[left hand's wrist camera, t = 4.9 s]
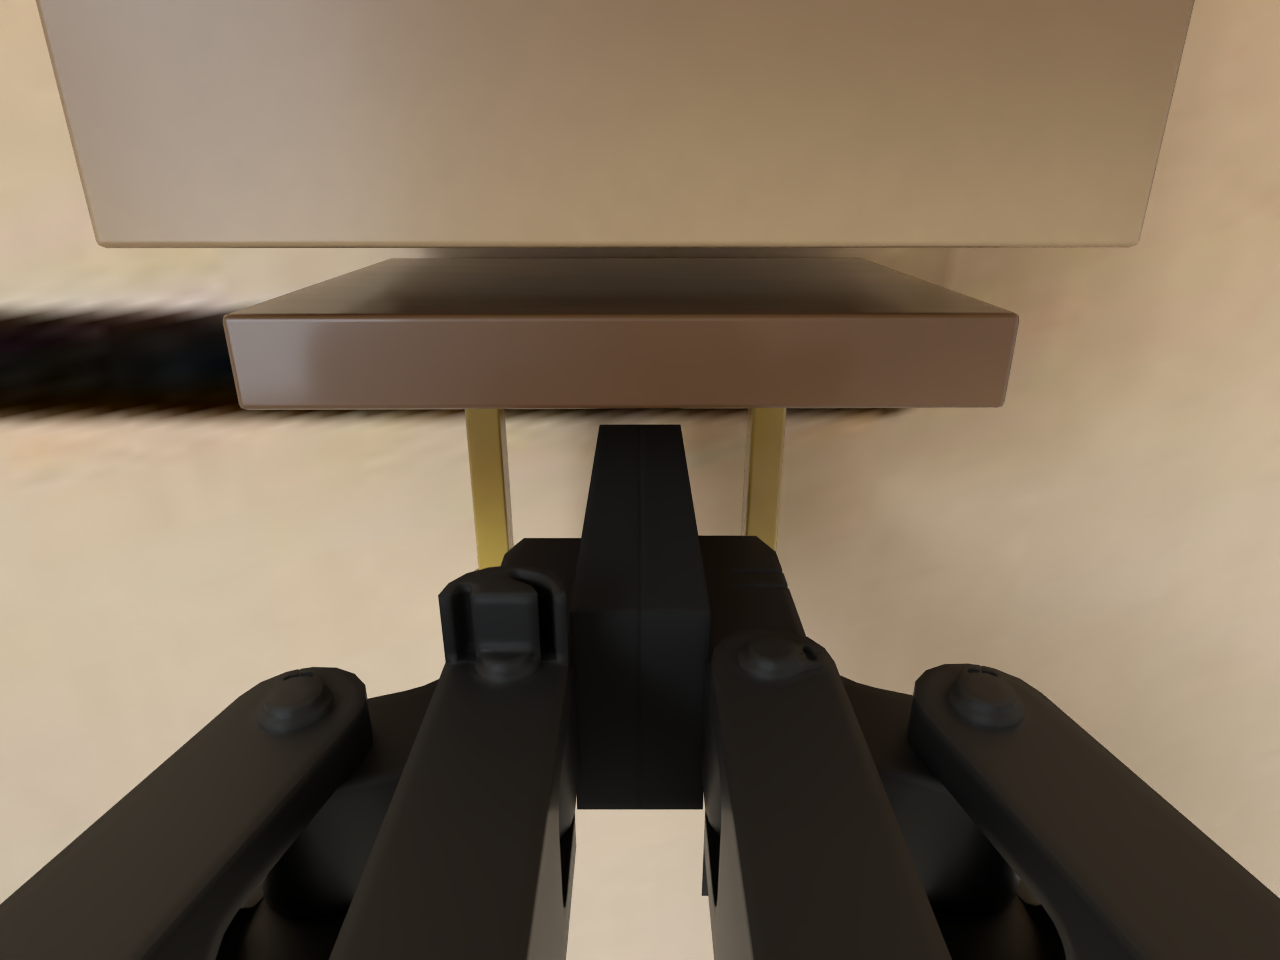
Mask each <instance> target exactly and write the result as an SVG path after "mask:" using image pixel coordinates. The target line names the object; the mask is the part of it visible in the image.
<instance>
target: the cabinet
mask: <svg viewBox="0 0 1280 960" xmlns="http://www.w3.org/2000/svg"><path fill="white" fill-rule="evenodd" d="M36 3H37V7H38V11H39V14H40V18H41V22H42V26H43V30H44V34H45V38H46V42H47V46H48V50H49V54H50V58H51V62H52V66H53V70H54V74H55V78H56V82H57V86H58V90H59V94H60V98H61V102H62V106H63V110H64V114H65V118H66V122H67V126H68V130H69V134H70V138H71V142H72V146H73V150H74V154H75V158H76V162H77V166H78V170H79V174H80V178H81V182H82V186H83V190H84V194H85V198H86V202H87V206H88V210H89V214H90V218H91V222H92V226H93V230H94V234H95V238H96V241H97V243H98V244H99V245H100V246H103V247H105V248H666V247H1131V246H1134V245H1136V244H1137V243H1138V241H1139V239H1140V234H1141V230H1142V226H1143V221H1144V217H1145V213H1146V208H1147V204H1148V200H1149V195H1150V191H1151V187H1152V182H1153V178H1154V174H1155V169H1156V165H1157V161H1158V156H1159V152H1160V148H1161V143H1162V139H1163V135H1164V130H1165V126H1166V122H1167V117H1168V113H1169V109H1170V104H1171V100H1172V96H1173V91H1174V87H1175V83H1176V78H1177V74H1178V70H1179V65H1180V61H1181V57H1182V52H1183V48H1184V44H1185V39H1186V35H1187V31H1188V26H1189V22H1190V18H1191V13H1192V9H1193V5H1194V0H36Z"/></svg>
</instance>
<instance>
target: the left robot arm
mask: <svg viewBox="0 0 1280 960" xmlns="http://www.w3.org/2000/svg"><path fill="white" fill-rule="evenodd" d="M438 598H439V606H440V615H441V624H442V633H443V642H444V651H445V660H446V663H445V666H444V668H443V671H442V673H441V676H440V678H439V679H438V680H436V681H434V682H431V683H429V684H427V685H425V686H421V687H418V688H414V689H411V690H407V691H403V692H398V693H393V694H388V695H384V696H379V697H374V698H369V699H367V694H366V687H365V684H364V683H363V682H362V681H361V680H360V679H359V678H358V677H357V676H356V675H355V674H353V673H350V672H347V671H344V670H341V669H338V668H326V667H311V668H303V669H300V670H298V669H297V670H293V671H289V672H285V673H283V674H280V675H278V676H275V677H273V678H270V679H268V680H265V681H263V682H261V683H259V684H258V685H256V686H255V687H253V688H252V689H250V690H249V691H247V692H246V693H244V694H243V695H241V696H240V697H238V698H237V699H236V700H235V701H234V702H233V703H231V704H230V705H229V706H228V707H227V708H226V709H225V710H223V711H222V712H221V713H220V714H219V715H218V716H217V717H215V718H214V719H213V720H212V721H211V722H210V723H208V724H207V725H206V726H205V727H204V728H203V729H202V730H200V731H199V732H198V733H197V734H196V735H195V736H194V737H192V738H191V739H190V740H189V741H188V742H187V743H186V744H184V745H183V746H182V747H181V748H180V749H179V750H177V751H176V752H175V753H174V754H173V755H172V756H171V757H169V758H168V759H167V760H166V761H165V762H164V763H163V764H161V765H160V766H159V767H158V768H157V769H156V770H154V771H153V772H152V773H151V774H150V775H149V776H148V777H146V778H145V779H144V780H143V781H142V782H141V783H140V784H138V785H137V786H136V787H135V788H134V789H133V790H131V791H130V792H129V793H128V794H127V795H126V796H125V797H123V798H122V799H121V800H120V801H119V802H118V803H117V804H115V805H114V806H113V807H112V808H111V809H110V810H108V811H107V812H106V813H105V814H104V815H103V816H102V817H100V818H99V819H98V820H97V821H96V822H95V823H94V824H92V825H91V826H90V827H89V828H88V829H87V830H85V831H84V832H83V833H82V834H81V835H80V836H79V837H77V838H76V839H75V840H74V841H73V842H72V843H71V844H69V845H68V846H67V847H66V848H65V849H64V850H63V851H61V852H60V853H59V854H58V855H57V856H56V857H54V858H53V859H52V860H51V861H50V862H49V863H48V864H46V865H45V866H44V867H43V868H42V869H41V870H40V871H38V872H37V873H36V874H35V875H34V876H33V877H31V878H30V879H29V880H28V881H27V882H26V883H25V884H23V885H22V886H21V887H20V888H19V889H18V890H17V891H15V892H14V893H13V894H12V895H11V896H10V897H8V898H7V899H6V900H5V901H4V902H3V903H2V904H0V960H566V951H567V941H568V930H569V919H570V908H571V897H572V886H573V875H574V864H575V853H576V831H575V805H576V795H577V809H703V791H704V801H705V831H704V856H703V880H702V896H709V907H710V918H711V929H712V939H713V950H714V960H1280V898H1278V897H1277V896H1276V895H1275V894H1274V893H1273V892H1272V891H1270V890H1269V889H1268V888H1267V887H1266V886H1265V885H1263V884H1262V883H1261V882H1260V881H1259V880H1258V879H1256V878H1255V877H1254V876H1253V875H1252V874H1251V873H1249V872H1248V871H1247V870H1246V869H1245V868H1244V867H1243V866H1241V865H1240V864H1239V863H1238V862H1237V861H1236V860H1234V859H1233V858H1232V857H1231V856H1230V855H1229V854H1227V853H1226V852H1225V851H1224V850H1223V849H1222V848H1221V847H1219V846H1218V845H1217V844H1216V843H1215V842H1214V841H1212V840H1211V839H1210V838H1209V837H1208V836H1207V835H1205V834H1204V833H1203V832H1202V831H1201V830H1200V829H1198V828H1197V827H1196V826H1195V825H1194V824H1193V823H1192V822H1190V821H1189V820H1188V819H1187V818H1186V817H1185V816H1183V815H1182V814H1181V813H1180V812H1179V811H1178V810H1176V809H1175V808H1174V807H1173V806H1172V805H1171V804H1170V803H1168V802H1167V801H1166V800H1165V799H1164V798H1163V797H1161V796H1160V795H1159V794H1158V793H1157V792H1156V791H1154V790H1153V789H1152V788H1151V787H1150V786H1149V785H1147V784H1146V783H1145V782H1144V781H1143V780H1142V779H1141V778H1139V777H1138V776H1137V775H1136V774H1135V773H1134V772H1132V771H1131V770H1130V769H1129V768H1128V767H1127V766H1125V765H1124V764H1123V763H1122V762H1121V761H1120V760H1119V759H1117V758H1116V757H1115V756H1114V755H1113V754H1112V753H1110V752H1109V751H1108V750H1107V749H1106V748H1105V747H1103V746H1102V745H1101V744H1100V743H1099V742H1098V741H1096V740H1095V739H1094V738H1093V737H1092V736H1091V735H1090V734H1088V733H1087V732H1086V731H1085V730H1084V729H1083V728H1081V727H1080V726H1079V725H1078V724H1077V723H1076V722H1074V721H1073V720H1072V719H1071V718H1070V717H1069V716H1068V715H1066V714H1065V713H1064V712H1063V711H1062V710H1061V709H1059V708H1058V707H1057V706H1056V705H1055V704H1054V703H1052V702H1051V701H1050V700H1049V699H1048V698H1047V697H1045V696H1044V695H1043V694H1042V693H1041V692H1039V691H1038V690H1036V689H1035V688H1033V687H1032V686H1030V685H1029V684H1027V683H1026V682H1024V681H1023V680H1021V679H1019V678H1017V677H1014V676H1012V675H1009V674H1007V673H1004V672H1002V671H999V670H997V669H994V668H990V667H986V666H979V665H973V664H944V665H941V666H938V667H935V668H932V669H929V670H926V671H925V672H924V673H923V674H922V675H921V676H920V677H919V678H918V679H917V680H916V681H915V687H914V694H913V695H908V694H903V693H898V692H893V691H888V690H883V689H879V688H874V687H871V686H867V685H863V684H860V683H856V682H854V681H852V680H849V679H847V678H845V677H843V676H840V675H839V672H838V670H837V667H836V664H835V662H834V660H833V659H832V658H831V656H830V655H829V654H828V652H827V651H826V649H825V648H824V647H822V646H821V645H819V644H817V643H816V642H814V641H813V640H811V639H810V638H808V637H806V635H805V632H804V629H803V627H802V624H801V621H800V618H799V615H798V613H797V610H796V607H795V604H794V602H793V599H792V596H791V593H790V590H789V589H788V588H787V582H786V579H785V577H784V574H783V573H782V568H781V565H780V563H779V560H778V557H777V554H776V552H775V551H774V550H773V549H772V548H771V547H769V546H768V545H767V544H766V543H764V542H763V541H762V540H761V539H760V538H758V537H757V536H698V531H697V525H696V519H695V513H694V507H693V500H692V494H691V488H690V482H689V476H688V469H687V463H686V457H685V451H684V445H683V438H682V432H681V426H680V425H600V426H599V432H598V438H597V445H596V451H595V457H594V463H593V469H592V476H591V482H590V488H589V494H588V500H587V507H586V513H585V519H584V525H583V531H582V537H581V538H524V539H522V540H521V541H520V542H519V543H518V544H516V545H515V546H514V547H513V548H511V549H510V550H509V551H508V552H507V553H505V555H504V557H503V560H502V563H501V566H497V567H488V568H484V569H481V570H477V571H474V572H470V573H467V574H465V575H463V576H461V577H459V578H457V579H456V580H454V581H452V582H450V583H449V584H448V585H447V586H446V587H445V588H444V589H443V591H442V592H441V593H440V594H439V595H438Z"/></svg>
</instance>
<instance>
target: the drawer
mask: <svg viewBox="0 0 1280 960" xmlns="http://www.w3.org/2000/svg"><path fill="white" fill-rule="evenodd" d="M1018 324H1019V316H1018V315H1017V314H1015V313H1013V312H1010V311H1007V310H1005V309H1002V308H999V307H996V306H993V305H991V304H988V303H985V302H982V301H979V300H976V299H974V298H971V297H968V296H965V295H962V294H960V293H957V292H954V291H951V290H948V289H945V288H943V287H940V286H937V285H934V284H931V283H929V282H926V281H923V280H920V279H917V278H915V277H912V276H909V275H906V274H903V273H900V272H898V271H895V270H892V269H889V268H886V267H884V266H881V265H878V264H875V263H872V262H869V261H867V260H864V259H861V258H423V259H389V260H386V261H383V262H380V263H377V264H374V265H371V266H368V267H365V268H362V269H359V270H356V271H353V272H350V273H347V274H344V275H341V276H339V277H336V278H333V279H330V280H327V281H324V282H321V283H318V284H315V285H312V286H309V287H306V288H303V289H300V290H297V291H294V292H291V293H289V294H286V295H283V296H280V297H277V298H274V299H271V300H268V301H265V302H262V303H259V304H256V305H253V306H250V307H247V308H244V309H241V310H239V311H236V312H233V313H230V314H227V315H225V316H224V317H223V326H224V331H225V336H226V341H227V346H228V351H229V356H230V361H231V366H232V371H233V376H234V381H235V386H236V391H237V396H238V401H239V405H240V406H241V408H243V409H247V410H277V409H465V417H466V428H467V440H468V451H469V462H470V474H471V485H472V497H473V508H474V520H475V531H476V542H477V554H478V565H479V568H478V569H476V570H475V571H477V570H481V569H484V568H488V567H497V566H501V563H502V560H503V557H504V555H505V553H507V552H508V551H509V550H510V549H511V548H513V547H514V543H513V528H512V514H511V499H510V484H509V469H508V455H507V440H506V425H505V410H504V409H630V408H748V416H747V434H746V453H745V471H744V490H743V508H742V527H741V536H757V537H758V538H760V539H761V540H762V541H763V542H764V543H766V544H767V545H768V546H769V547H771V548H772V549H773V550H774V551H775V552H776V543H777V529H778V515H779V502H780V488H781V475H782V461H783V447H784V434H785V420H786V408H984V407H1000V406H1002V405H1003V404H1004V401H1005V396H1006V390H1007V385H1008V379H1009V374H1010V368H1011V363H1012V357H1013V352H1014V346H1015V341H1016V335H1017V330H1018Z"/></svg>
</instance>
